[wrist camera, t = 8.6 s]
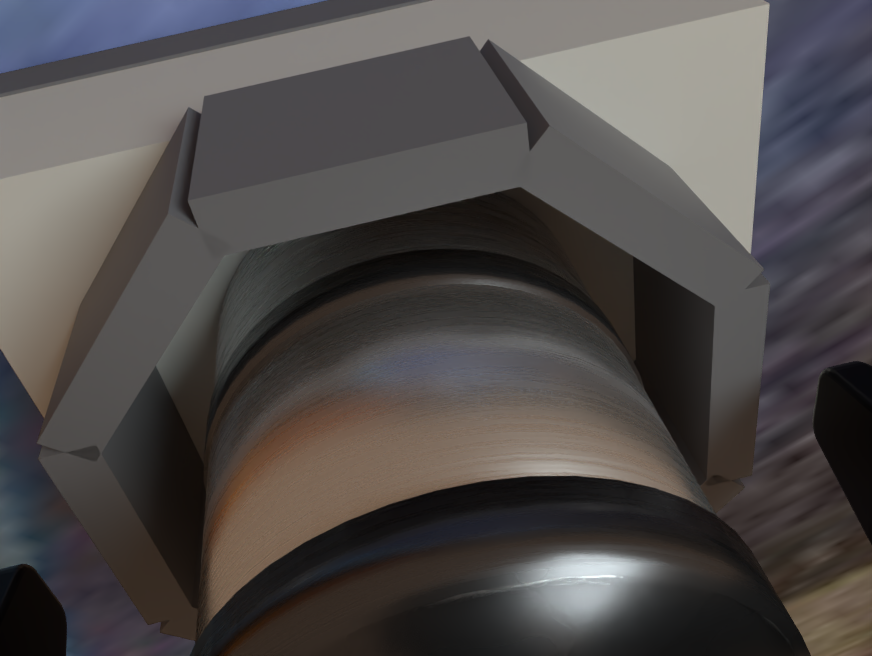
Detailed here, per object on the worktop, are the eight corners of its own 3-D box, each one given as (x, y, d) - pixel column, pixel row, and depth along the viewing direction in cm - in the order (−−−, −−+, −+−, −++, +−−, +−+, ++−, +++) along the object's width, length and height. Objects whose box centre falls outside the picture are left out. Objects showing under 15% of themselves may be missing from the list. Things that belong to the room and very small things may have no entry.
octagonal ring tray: (650, 313, 17) (816, 567, 12) (171, 428, 17) (131, 741, 12) (645, -96, 13) (915, 32, 7) (-18, 52, 12) (-227, 295, 7)
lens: (595, 428, 13) (784, 829, 8) (273, 506, 13) (279, 963, 8) (573, 123, 10) (858, 486, 5) (150, 221, 10) (44, 686, 5)
